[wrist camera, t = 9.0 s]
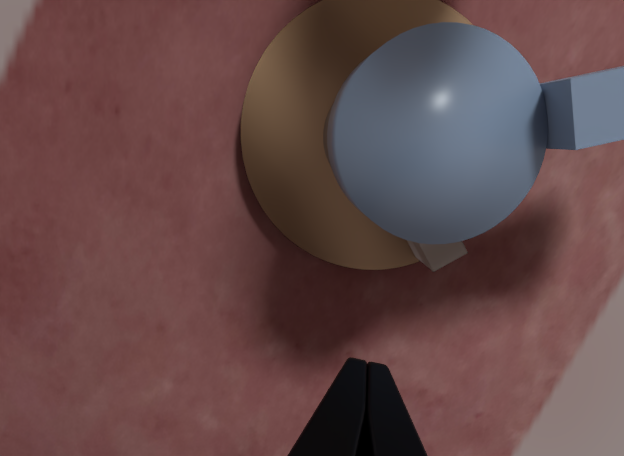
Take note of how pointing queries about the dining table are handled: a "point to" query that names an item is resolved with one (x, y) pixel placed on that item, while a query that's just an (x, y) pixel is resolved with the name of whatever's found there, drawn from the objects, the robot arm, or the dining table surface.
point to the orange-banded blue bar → (457, 130)
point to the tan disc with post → (325, 130)
